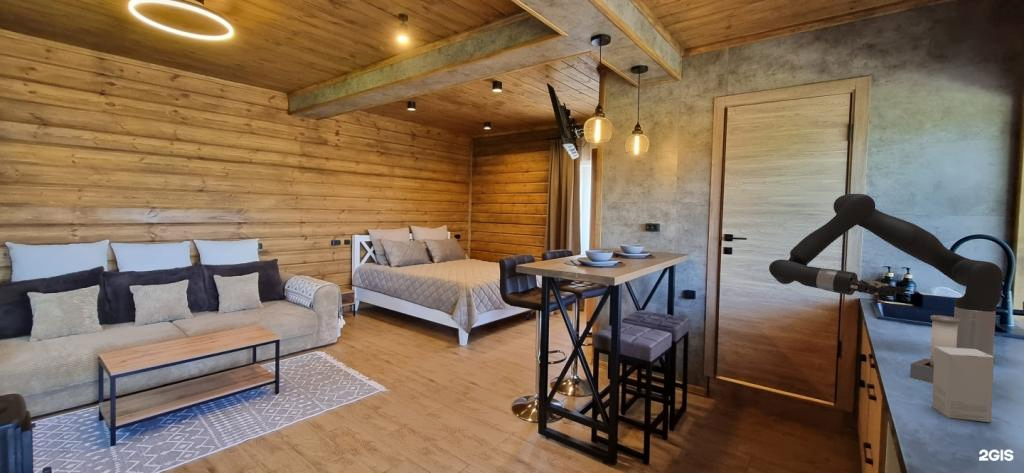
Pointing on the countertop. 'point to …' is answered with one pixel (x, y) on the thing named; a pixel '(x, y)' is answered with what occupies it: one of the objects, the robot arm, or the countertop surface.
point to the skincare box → (963, 383)
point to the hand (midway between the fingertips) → (900, 292)
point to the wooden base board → (922, 371)
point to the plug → (943, 333)
